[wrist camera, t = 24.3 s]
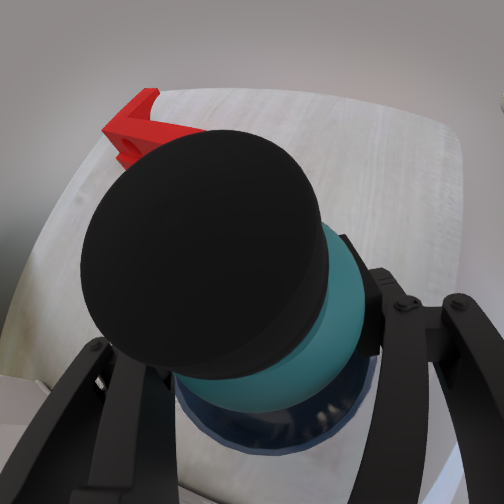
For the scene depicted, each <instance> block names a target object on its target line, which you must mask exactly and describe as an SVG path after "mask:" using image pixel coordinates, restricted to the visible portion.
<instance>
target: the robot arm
mask: <svg viewBox="0 0 504 504" xmlns="http://www.w3.org/2000/svg"><path fill="white" fill-rule="evenodd" d="M338 236H339V237H340V238H341V239H342V240H343V242H344V243H345V244H346V246H347V247H348V249H349V251H350V252H351V254H352V256H353V258H354V260H355V262H356V264H357V266H358V268H359V271H360V275H361V278H362V282H363V288H364V294H365V312H364V321H363V326H362V330H361V334H360V337H359V340H358V342H357V348H358V351H359V355H360V358H361V359H362V358H367V357H372V356H377V355H379V354H380V345H381V347H382V350H383V351H382V360H381V367H380V375H379V381H378V388H377V394H376V399H375V405H374V410H373V415H372V420H371V424H370V429H369V433H368V437H367V441H366V445H365V449H364V453H363V457H362V460H361V464H360V467H359V470H358V474H357V477H356V480H355V483H354V486H353V489H352V492H351V495H350V498H349V500H348V503H347V504H417V503H418V497H419V493H420V487H421V482H422V476H423V469H424V462H425V454H426V443H427V432H428V412H429V411H428V410H429V374H428V362H432V363H433V366H434V368H435V371H436V374H437V376H438V379H439V382H440V385H441V388H442V391H443V393H444V396H445V399H446V402H447V406H448V408H449V412H450V415H451V418H452V422H453V426H454V429H455V433H456V437H457V441H458V445H459V449H460V453H461V458H462V463H463V468H464V473H465V478H466V483H467V491H468V498H469V504H504V340H503V338H502V337H501V335H500V334H499V333H498V331H497V329H496V328H495V327H494V325H493V324H492V322H491V321H490V320H489V318H488V317H487V316H486V314H485V313H484V312H483V310H482V309H481V308H480V307H479V305H478V304H477V303H476V302H475V300H474V299H473V298H471V297H470V296H468V295H465V294H461V293H457V294H451V295H448V296H447V297H445V298H444V300H443V305H442V307H424V306H422V303H421V301H420V300H419V299H418V298H416V297H413V296H410V295H406V293H405V292H404V291H403V289H402V288H401V286H400V285H399V284H398V283H397V281H396V280H395V278H394V277H393V276H392V274H391V273H390V272H389V271H388V270H386V269H384V268H376V269H371V270H368V269H367V267H366V266H365V264H364V262H363V261H362V259H361V258H360V256H359V254H358V253H357V251H356V250H355V248H354V247H353V245H352V244H351V242H350V240H349V239H348V237H347V236H346V234H343V235H338ZM97 377H99V379H100V380H101V382H102V383H103V385H104V387H103V388H102V389H100V388H99V386H98V385H97V384H96V382H95V380H96V379H97ZM0 504H180V502H179V491H178V477H177V460H176V435H175V377H174V374H173V372H172V371H167V370H162V369H158V368H155V367H151V366H147V365H144V364H142V363H140V362H138V361H136V360H133V359H131V358H130V357H128V356H127V355H125V354H124V353H122V352H121V351H120V350H118V349H117V348H116V347H115V346H114V345H112V346H111V344H110V342H109V341H108V340H107V339H106V338H105V337H97V338H95V339H92V340H91V341H90V342H88V343H87V344H86V345H85V346H84V347H83V349H82V350H81V351H80V353H79V354H78V355H77V357H76V358H75V359H74V361H73V362H72V363H71V365H70V366H69V367H68V369H67V370H66V371H65V373H64V374H63V375H62V377H61V378H60V380H59V381H58V382H57V384H56V385H55V387H54V388H53V389H52V391H51V392H50V394H49V395H48V397H47V398H46V400H45V401H44V402H43V404H42V405H41V407H40V408H39V410H38V411H37V413H36V414H35V416H34V417H33V419H32V421H31V422H30V424H29V425H28V427H27V428H26V430H25V432H24V433H23V435H22V436H21V438H20V440H19V441H18V443H17V445H16V446H15V448H14V450H13V452H12V453H11V455H10V457H9V459H8V460H7V462H6V464H5V466H4V468H3V469H2V471H1V473H0Z"/></svg>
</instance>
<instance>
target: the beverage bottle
mask: <svg viewBox="0 0 504 504" xmlns="http://www.w3.org/2000/svg"><path fill="white" fill-rule="evenodd" d="M80 277H81V285H82V291H83V295H84V299H85V303H86V305H87V308H88V311H89V313H90V315H91V317H92V319H93V321H94V323H95V325H96V326H97V328H98V329H99V330H100V332H101V333H102V334H103V336H104V337H105V338H106V339H107V340H108V341H109V342H110V343H111V344H112V345H114V346H115V347H116V348H117V349H118V350H120V351H121V352H122V353H124V354H125V355H127V356H128V357H130V358H131V359H133V360H136V361H138V362H140V363H142V364H144V365H147V366H151V367H155V368H158V369H162V370H167V371H172V372H173V373H174V374H175V375H176V377H177V378H178V379H179V380H180V381H181V382H182V383H183V384H184V385H185V386H186V387H187V388H188V389H189V390H190V391H191V392H193V393H194V394H196V395H197V396H199V397H200V398H202V399H203V400H205V401H207V402H209V403H211V404H213V405H216V406H219V407H222V408H225V409H228V410H232V411H238V412H243V413H264V412H273V411H277V410H281V409H285V408H288V407H291V406H294V405H296V404H299V403H301V402H303V401H305V400H307V399H308V398H310V397H312V396H314V395H315V394H317V393H318V392H319V391H321V390H322V389H323V388H325V387H326V386H327V385H328V384H329V383H330V382H331V381H332V380H333V379H334V378H335V377H336V376H337V375H338V374H339V373H340V372H341V370H342V369H343V368H344V366H345V365H346V364H347V362H348V360H349V359H350V357H351V355H352V353H353V352H354V350H355V347H356V345H357V342H358V340H359V337H360V334H361V330H362V326H363V321H364V312H365V294H364V288H363V282H362V278H361V275H360V271H359V268H358V266H357V264H356V262H355V260H354V258H353V256H352V254H351V252H350V251H349V249H348V247H347V246H346V244H345V243H344V242H343V240H342V239H341V238H340V237H339V236H338V235H337V234H336V233H335V232H334V231H333V230H332V229H331V228H330V227H328V226H327V225H326V224H324V223H323V222H321V216H320V211H319V206H318V202H317V198H316V195H315V193H314V190H313V188H312V185H311V184H310V182H309V180H308V179H307V177H306V175H305V173H304V172H303V170H302V169H301V167H300V166H299V165H298V164H297V162H296V161H295V160H294V159H293V158H292V157H291V156H290V155H289V154H288V153H287V152H286V151H285V150H284V149H282V148H281V147H279V146H277V145H276V144H274V143H273V142H271V141H269V140H266V139H264V138H262V137H260V136H257V135H253V134H250V133H246V132H241V131H234V130H210V131H203V132H197V133H193V134H189V135H186V136H183V137H180V138H177V139H174V140H172V141H170V142H167V143H165V144H163V145H161V146H159V147H158V148H156V149H154V150H152V151H151V152H149V153H148V154H146V155H145V156H143V157H142V158H140V159H139V160H138V161H136V162H135V163H134V164H133V165H131V166H130V167H129V168H128V169H127V170H126V171H125V172H124V173H123V174H122V175H121V176H120V177H119V178H118V179H117V180H116V181H115V182H114V184H113V185H112V186H111V187H110V189H109V190H108V191H107V193H106V194H105V196H104V197H103V199H102V200H101V202H100V203H99V205H98V207H97V209H96V210H95V212H94V214H93V216H92V219H91V221H90V224H89V226H88V229H87V232H86V235H85V238H84V243H83V248H82V254H81V263H80Z"/></svg>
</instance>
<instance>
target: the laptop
mask: <svg viewBox="0 0 504 504" xmlns="http://www.w3.org/2000/svg"><path fill="white" fill-rule="evenodd" d="M50 392H51V391H50V390H49V389H48V388H47V387H46V386H45V385H44V384H43V383H42V382H41V381H39V380H36V381H35V382H34V381H31V380H25V379H19V378H14V377H9V376H4V375H0V473H1V471H2V469H3V468H4V466H5V464H6V462H7V460H8V459H9V457H10V455H11V453H12V452H13V450H14V448H15V446H16V445H17V443H18V441H19V440H20V438H21V436H22V435H23V433H24V432H25V430H26V428H27V427H28V425H29V424H30V422H31V421H32V419H33V417H34V416H35V414H36V413H37V411H38V410H39V408H40V407H41V405H42V404H43V402H44V401H45V400H46V398H47V397H48V395H49V394H50ZM178 491H179V502H180V504H218V503H215V502H213V501H211V500H208V499H206V498H204V497H201V496H199V495H197V494H195V493H193V492H191V491H188V490H186V489H184V488H182V487H180V486H178Z"/></svg>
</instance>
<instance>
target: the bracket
mask: <svg viewBox="0 0 504 504" xmlns="http://www.w3.org/2000/svg"><path fill="white" fill-rule="evenodd" d="M159 95H160V92H159V90H158V89H157V88H144V89H143V90H142V91H141V92H140V93H139V94H138V95H136V96H135V97H134V98H133V99H132V100H131V101H130V102H129V103H128V104H127V105H126V106H125V107H124V108H123V109H122V110H121V111H120V112H119V113H118V114H117V115H116V116H115V117H114V118H113V119H112V120H111V121H110V122H109V123H108V124H107V125H106V126H105V127H104V128H103V129H102V132H103V133H104V134H105V135H106V137H107V138H108V139H109V140H110V141H111V143H112V144H113V145H114V146H115V148H116V149H117V150H118V151H119V152H120V153H119V155H118V156H117V157H116V159H117V160H118V161H119V163H120V164H121V165H122V166H123V167H124V168H125V170H127V169H128V168H129V167H130V166H131V165H133V164H134V163H135V162H136V161H138V160H139V159H140V158H142V157H143V156H145V155H146V154H148V153H149V152H151V151H152V150H154V149H156V148H158V147H159V146H161V145H163V144H165V143H167V142H170V141H172V140H174V139H177V138H180V137H183V136H186V135H189V134H193V133H197V132H203V131H206V130H202V129H197V128H192V127H186V126H181V125H175V124H169V123H163V122H157V121H150V112H151V108H152V105H153V103H154V101H155V99H156V98H157V97H158V96H159Z"/></svg>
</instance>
